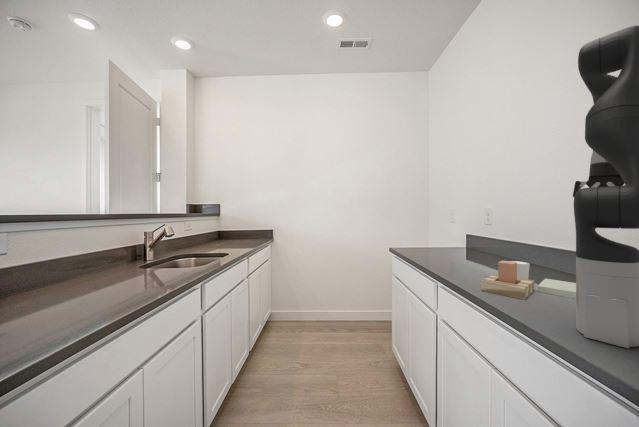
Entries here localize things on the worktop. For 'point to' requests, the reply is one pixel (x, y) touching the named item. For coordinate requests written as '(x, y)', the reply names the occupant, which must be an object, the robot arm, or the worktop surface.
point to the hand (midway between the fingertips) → (601, 211)
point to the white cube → (522, 269)
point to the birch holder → (508, 287)
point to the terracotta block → (507, 272)
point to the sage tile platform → (558, 288)
